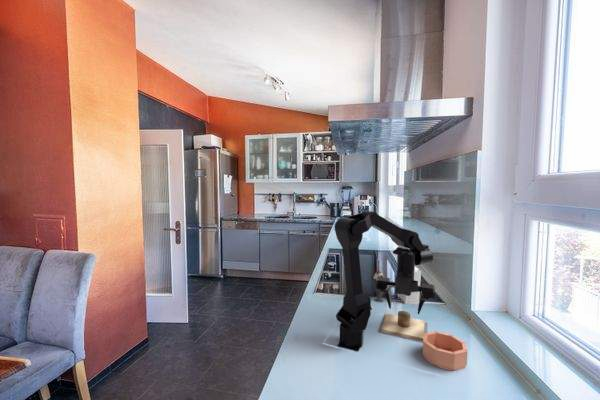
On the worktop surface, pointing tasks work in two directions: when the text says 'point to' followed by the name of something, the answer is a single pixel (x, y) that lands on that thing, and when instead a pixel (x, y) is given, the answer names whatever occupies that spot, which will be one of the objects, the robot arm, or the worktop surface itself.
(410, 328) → the lid
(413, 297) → the skincare box
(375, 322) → the worktop surface
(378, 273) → the sundae
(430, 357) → the bowl
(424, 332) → the mat
